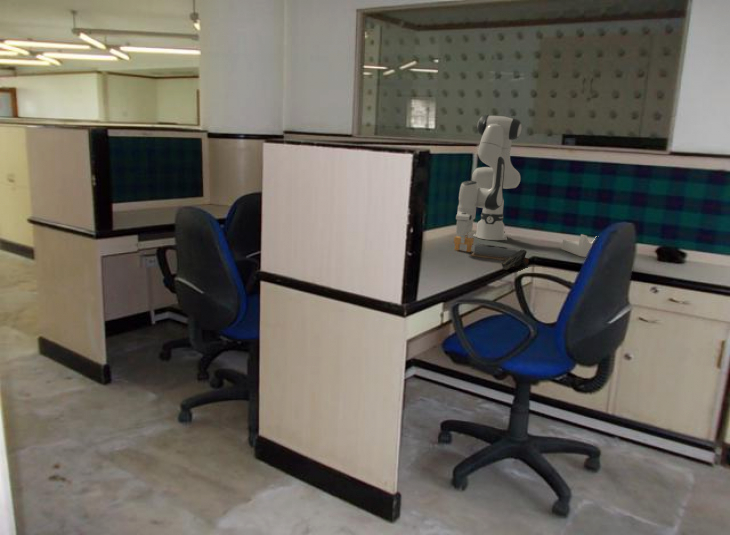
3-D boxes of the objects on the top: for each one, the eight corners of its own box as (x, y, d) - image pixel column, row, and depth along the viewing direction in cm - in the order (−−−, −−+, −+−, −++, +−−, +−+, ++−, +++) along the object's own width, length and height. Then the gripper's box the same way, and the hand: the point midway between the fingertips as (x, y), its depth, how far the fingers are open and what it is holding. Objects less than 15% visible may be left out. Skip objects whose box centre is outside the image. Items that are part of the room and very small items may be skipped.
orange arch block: (454, 249, 305) (455, 236, 304) (472, 251, 302) (473, 238, 301) (453, 250, 303) (454, 237, 301) (471, 252, 299) (472, 239, 298)
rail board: (475, 251, 302) (476, 242, 301) (521, 257, 295) (522, 247, 294) (470, 255, 291) (471, 246, 290) (517, 261, 284) (518, 252, 283)
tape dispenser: (597, 258, 307) (602, 237, 305) (580, 256, 304) (585, 235, 302) (577, 250, 324) (581, 231, 322) (560, 248, 321) (565, 229, 319)
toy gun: (505, 282, 270) (500, 263, 265) (525, 262, 277) (521, 244, 272) (509, 283, 268) (504, 264, 263) (529, 263, 275) (525, 245, 270)
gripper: (464, 211, 309) (462, 238, 312) (455, 216, 290) (452, 244, 293) (477, 212, 307) (474, 240, 310) (468, 217, 288) (465, 246, 291)
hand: (463, 242), depth 301 cm, fingers closed on orange arch block, 3 cm apart
